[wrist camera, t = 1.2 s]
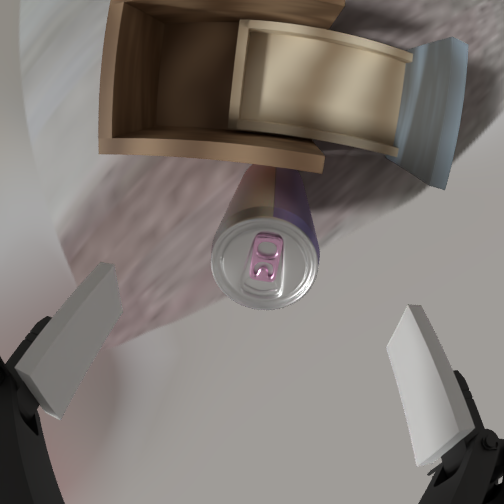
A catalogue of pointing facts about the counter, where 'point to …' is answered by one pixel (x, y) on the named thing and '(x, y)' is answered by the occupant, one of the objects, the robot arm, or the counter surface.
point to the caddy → (192, 80)
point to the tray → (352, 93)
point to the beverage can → (266, 241)
